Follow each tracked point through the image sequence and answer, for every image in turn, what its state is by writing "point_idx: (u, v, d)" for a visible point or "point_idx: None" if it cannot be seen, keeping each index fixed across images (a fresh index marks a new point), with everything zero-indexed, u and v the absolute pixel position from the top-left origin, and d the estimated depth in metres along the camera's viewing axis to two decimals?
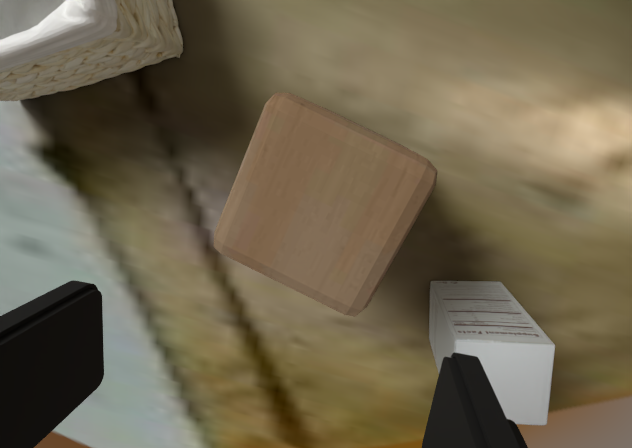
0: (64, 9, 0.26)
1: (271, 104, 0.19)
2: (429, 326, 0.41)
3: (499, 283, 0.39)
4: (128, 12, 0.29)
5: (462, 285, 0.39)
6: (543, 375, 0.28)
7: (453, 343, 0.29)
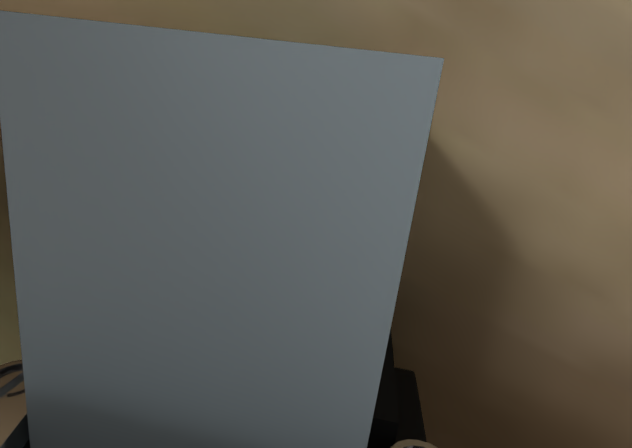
0: None
1: None
2: None
3: None
4: None
5: None
6: None
7: None
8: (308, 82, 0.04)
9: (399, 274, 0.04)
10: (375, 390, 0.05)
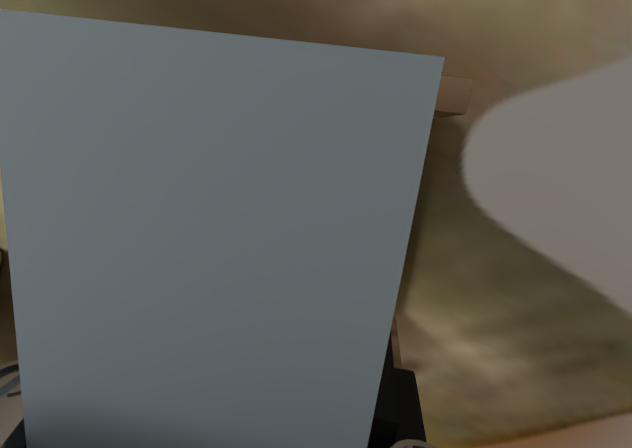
0: None
1: None
2: None
3: None
4: None
5: None
6: None
7: None
8: (307, 81, 0.04)
9: (399, 275, 0.04)
10: (375, 392, 0.05)
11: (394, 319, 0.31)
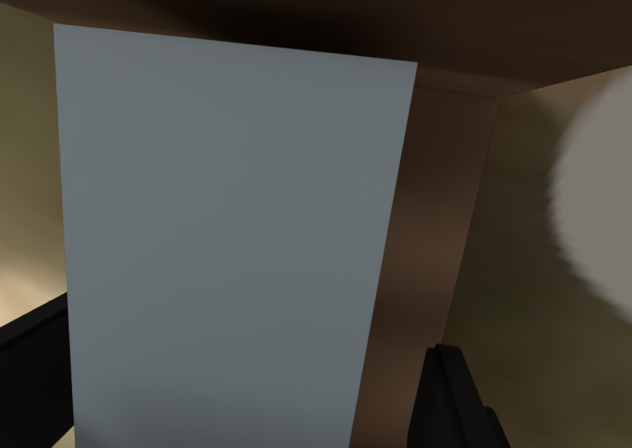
0: None
1: None
2: None
3: None
4: None
5: None
6: None
7: None
8: (310, 81, 0.05)
9: (385, 238, 0.05)
10: (366, 336, 0.06)
11: None
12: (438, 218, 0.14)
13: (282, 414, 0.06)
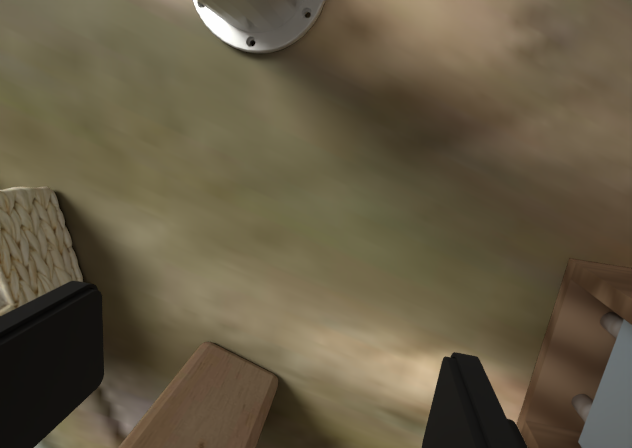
0: None
1: None
2: None
3: None
4: None
5: None
6: None
7: None
8: None
9: None
10: None
11: None
12: None
13: None
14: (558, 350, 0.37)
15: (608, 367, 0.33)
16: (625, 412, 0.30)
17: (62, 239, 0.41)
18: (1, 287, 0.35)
